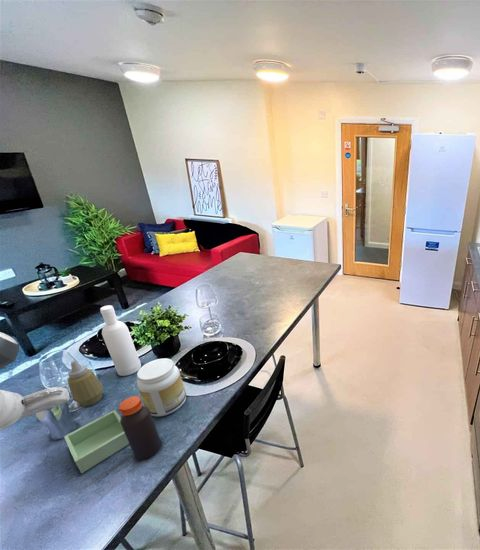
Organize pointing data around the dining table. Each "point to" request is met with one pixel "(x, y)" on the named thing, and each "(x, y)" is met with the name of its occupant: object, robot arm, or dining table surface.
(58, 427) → the beer glass
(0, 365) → the robot arm
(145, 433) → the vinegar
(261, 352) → the dining table surface
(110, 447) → the tote
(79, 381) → the squeeze bottle
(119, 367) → the bottle
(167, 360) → the supplement tub
